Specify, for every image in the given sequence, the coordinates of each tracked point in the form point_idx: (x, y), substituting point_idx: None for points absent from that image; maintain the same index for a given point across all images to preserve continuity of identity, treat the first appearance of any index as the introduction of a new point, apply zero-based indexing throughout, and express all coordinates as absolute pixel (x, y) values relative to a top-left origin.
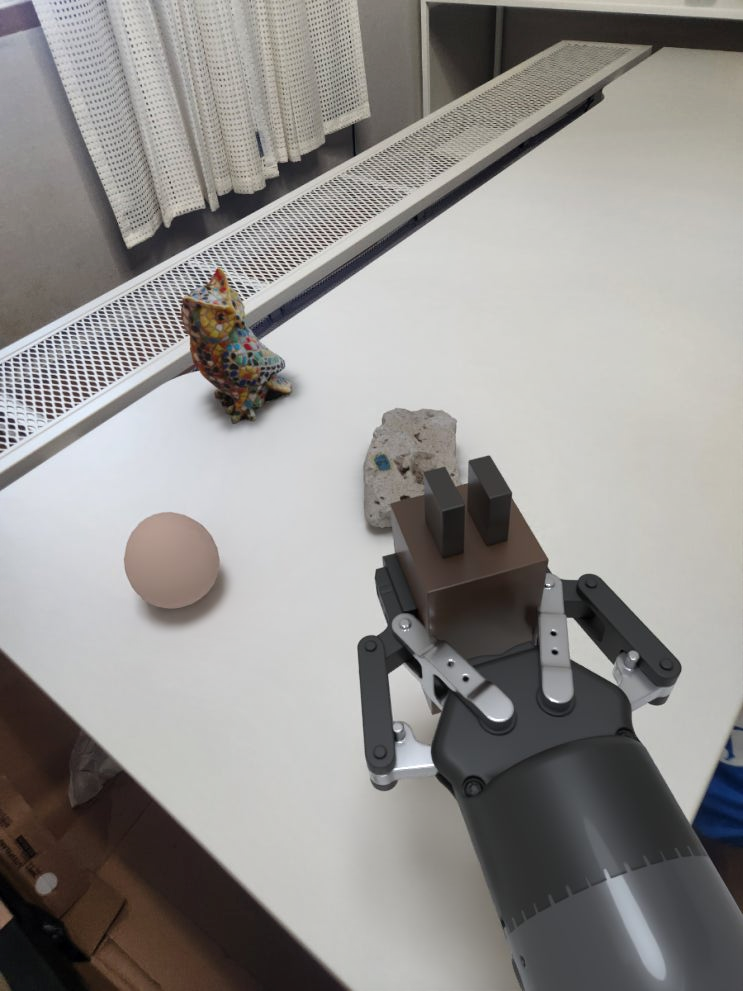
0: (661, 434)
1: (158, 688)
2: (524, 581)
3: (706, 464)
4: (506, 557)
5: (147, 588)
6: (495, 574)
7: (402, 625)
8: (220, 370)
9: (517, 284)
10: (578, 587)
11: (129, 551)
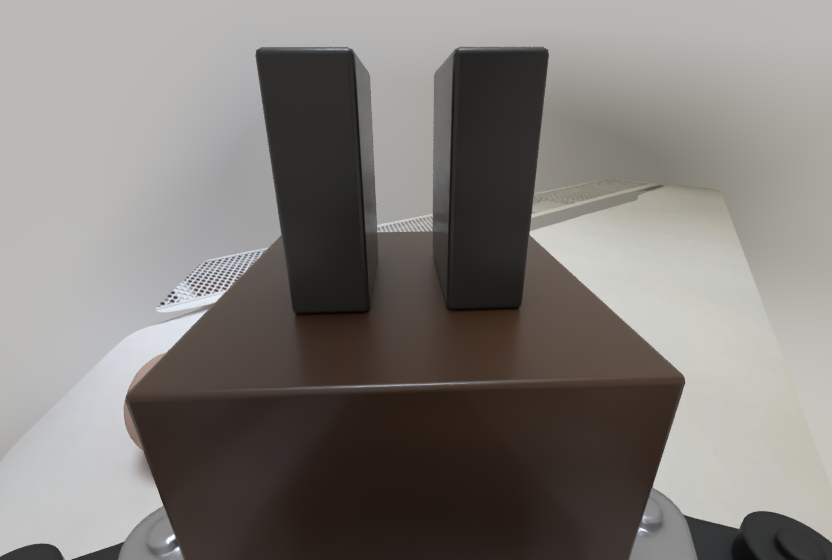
0: (715, 395)
1: (80, 554)
2: (569, 463)
3: (777, 435)
4: (506, 345)
5: (130, 423)
6: (442, 385)
7: (149, 537)
8: None
9: (569, 271)
10: (750, 553)
11: (133, 379)
